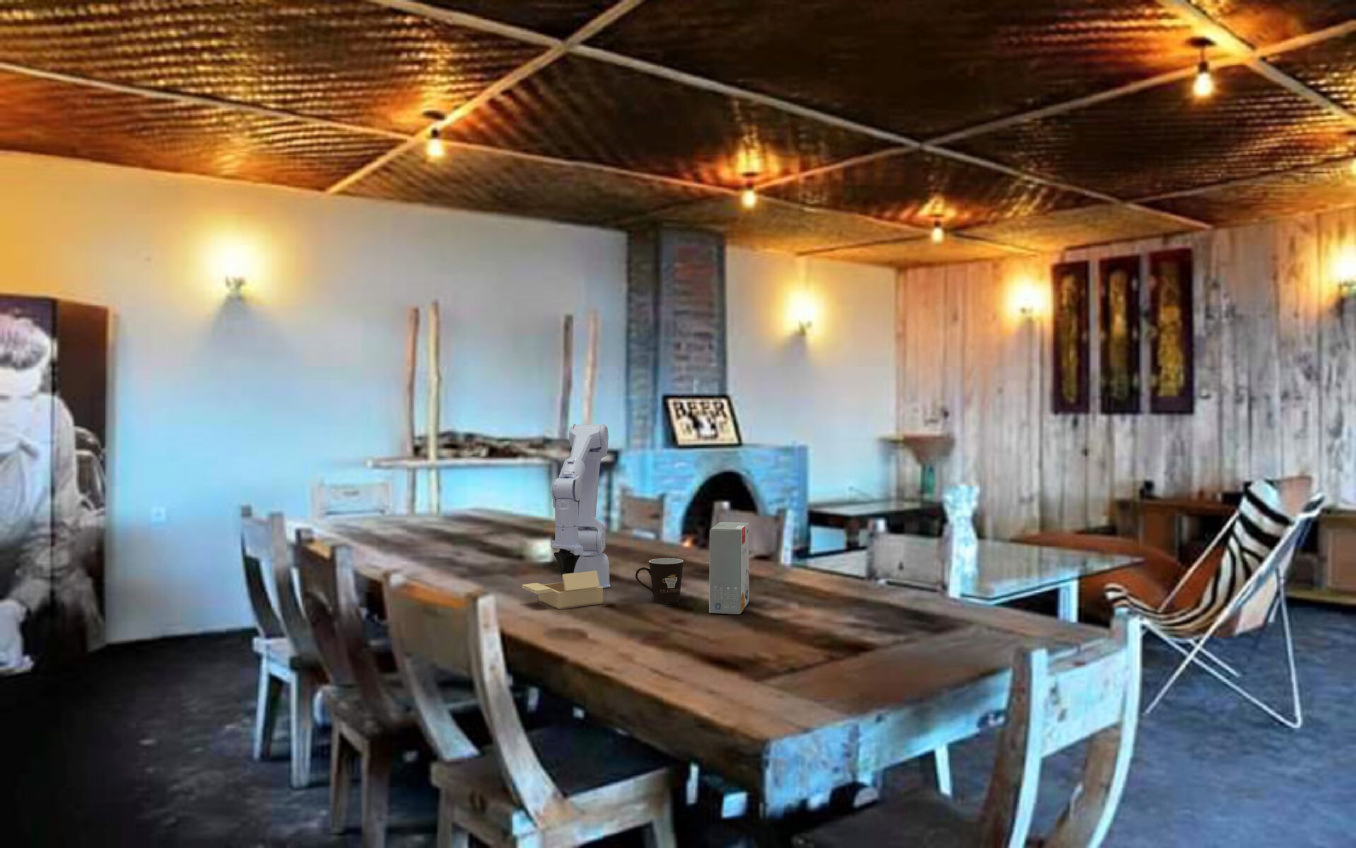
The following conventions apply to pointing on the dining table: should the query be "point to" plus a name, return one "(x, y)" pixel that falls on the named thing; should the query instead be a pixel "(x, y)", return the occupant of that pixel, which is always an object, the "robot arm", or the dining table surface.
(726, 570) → the hard drive box
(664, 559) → the coffee mug
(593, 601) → the carton
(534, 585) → the flap far
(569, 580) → the flap left
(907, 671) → the dining table surface
